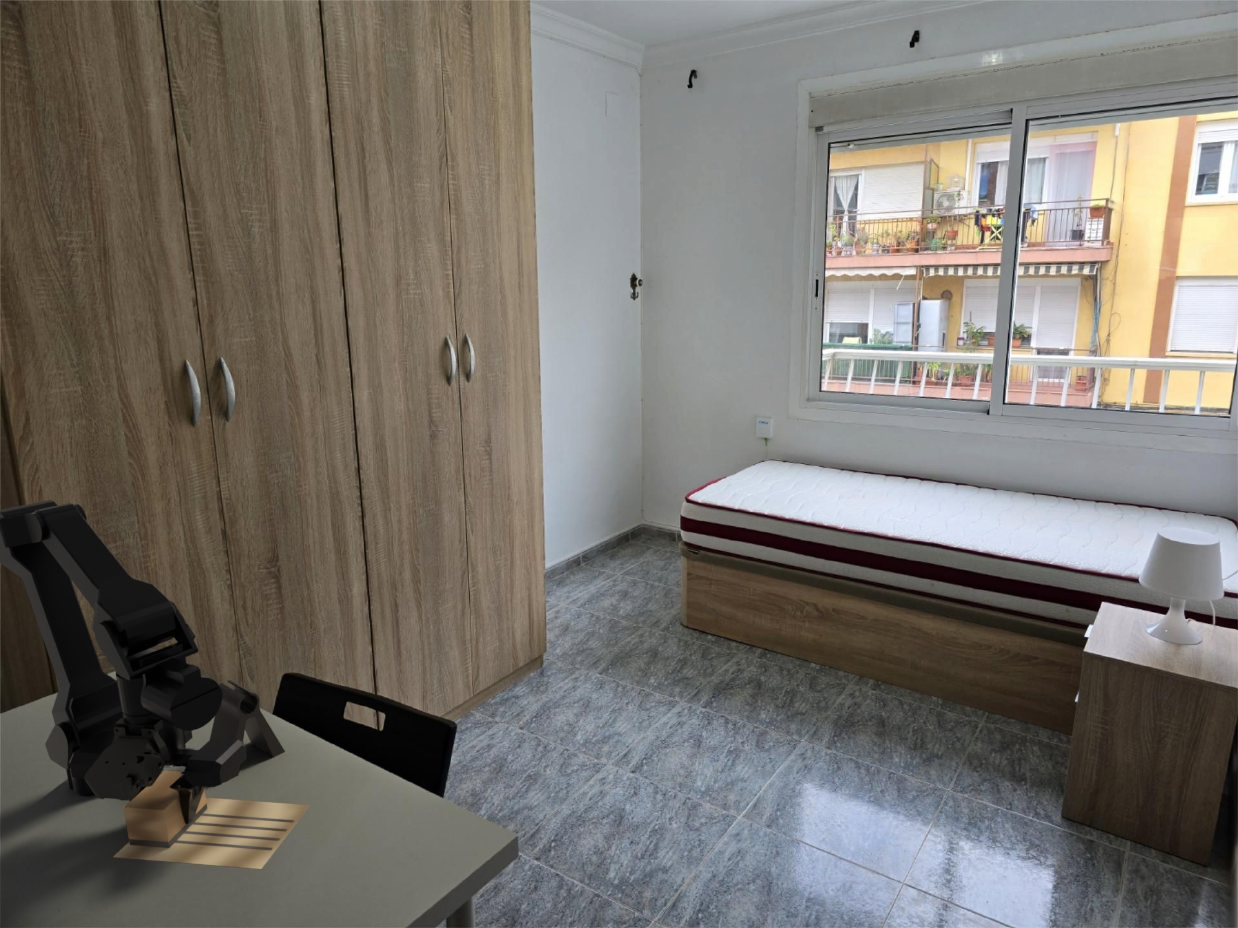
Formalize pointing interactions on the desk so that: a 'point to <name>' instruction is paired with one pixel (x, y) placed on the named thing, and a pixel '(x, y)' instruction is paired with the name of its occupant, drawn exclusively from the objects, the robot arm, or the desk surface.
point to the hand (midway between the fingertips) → (169, 820)
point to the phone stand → (243, 721)
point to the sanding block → (158, 814)
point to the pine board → (228, 835)
